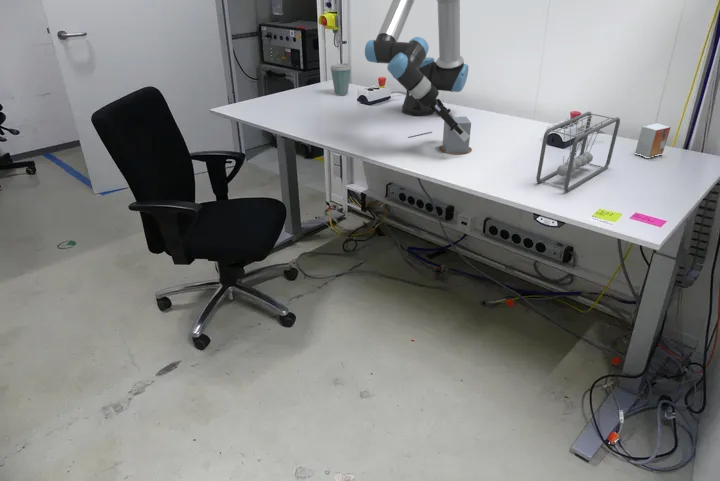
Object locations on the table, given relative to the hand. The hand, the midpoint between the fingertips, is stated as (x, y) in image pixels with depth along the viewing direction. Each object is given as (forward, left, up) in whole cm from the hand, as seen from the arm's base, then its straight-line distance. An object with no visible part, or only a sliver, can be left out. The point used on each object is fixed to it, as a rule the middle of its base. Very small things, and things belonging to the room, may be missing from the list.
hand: (462, 132), depth 185 cm
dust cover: (+2, -1, -6) cm, 7 cm away
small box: (-52, +41, -7) cm, 67 cm away
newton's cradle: (-14, +38, -7) cm, 41 cm away
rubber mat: (+2, -17, -7) cm, 18 cm away
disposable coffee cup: (-6, -98, -7) cm, 99 cm away
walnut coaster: (+2, -1, -7) cm, 7 cm away
